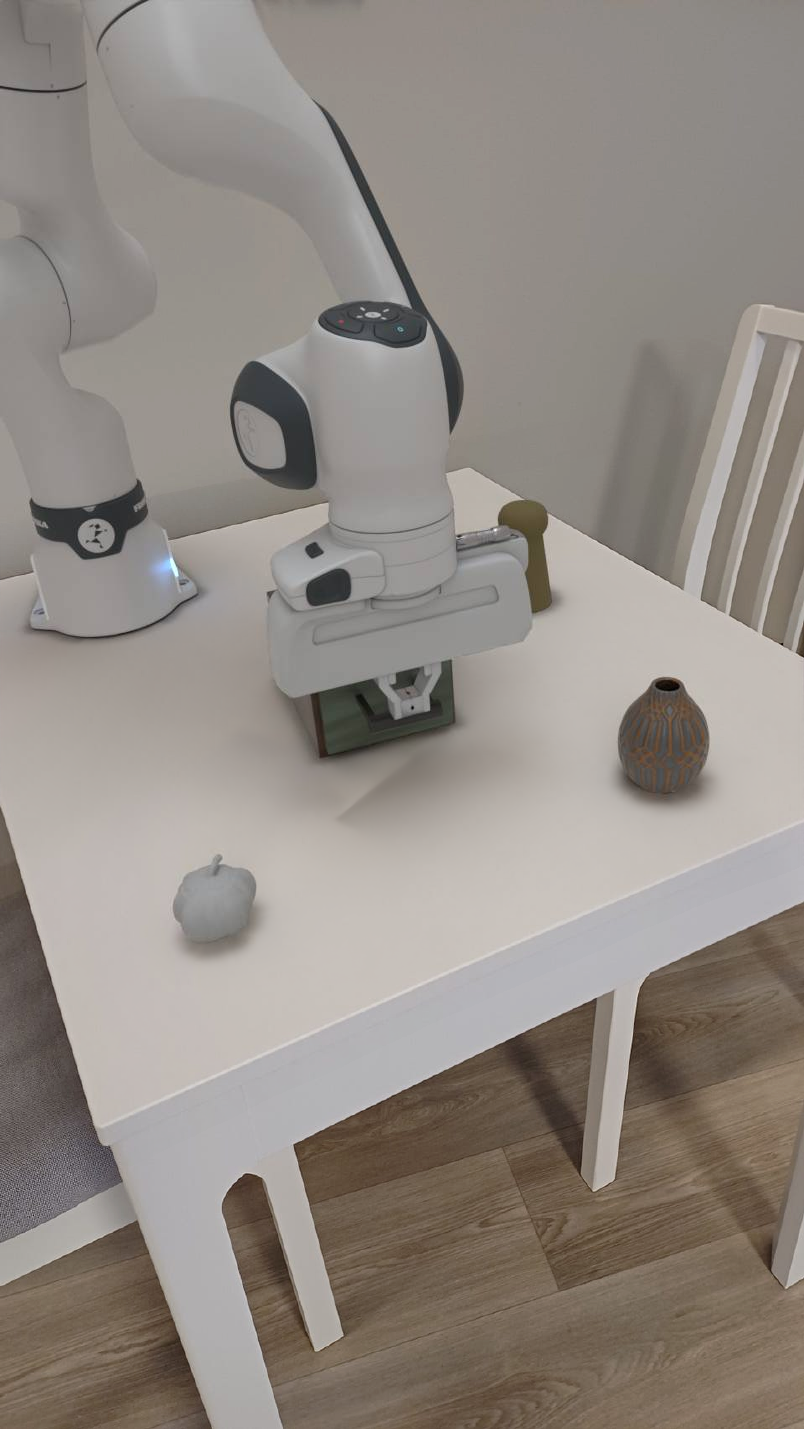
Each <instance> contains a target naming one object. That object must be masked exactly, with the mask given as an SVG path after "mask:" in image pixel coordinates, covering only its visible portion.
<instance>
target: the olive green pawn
mask: <svg viewBox="0 0 804 1429" xmlns="http://www.w3.org/2000/svg"><path fill="white" fill-rule="evenodd" d="M501 525H506V526H508V527H509V528H510V529H515V530H517V531H519V532H521V533H522V534H523V535H524V536H525V538H526V540H527V543H528V567H527V570H526V572H525V577H526V581H527V585H528V590H529V596H530V602H531V611H532V613H538V612H541V611H543V610H545V609H547V608H548V607H549V606H551V604H552V603H553V598H552V591H551V582H550V578H549V576H550V575H549V570H548V561H547V555H546V548H545V541H544V534H545V532H546V531H547V529H548V526H549V515H548V511H547V508H546V507H545V505H544V504H542V503H541V502H538V501H536V500H532V499H518V500H513V501H510V502H507V503H506V504H504V505H503V506H502V507H501V509H500V510H499V511H498V515H497V526H501ZM511 536H515V535H511ZM511 536H510V537H511Z"/></svg>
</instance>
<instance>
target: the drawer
mask: <svg viewBox="0 0 804 1429" xmlns="http://www.w3.org/2000/svg"><path fill="white" fill-rule="evenodd" d="M419 671H420V668H419V667H418V668H414V669H410V670H406V671H402V672H398V673H395V674H396V683H395V684H392V685H391V686H392V687H393V689H394V690H397V689H401V688H406V687H409V686H413V685H414V683H415V680H416V678H417V675H418V673H419ZM441 672H442V673H441V674H440V676H439V678H438V680H437V682H436V684H435V686H434V688H433V690H432V691H431V693H429V698H430V711H427V712H423V713H419V714H415V715H412V716H408V717H404V718H400V719H397V720H395V719H394V718H393V716H392V715H391V713H390V711H389V707H388V698H387V696H386V695H385V694H384V693H383V691H382V690H381V689H380V688H379V687H378V685H377V684H376V682H375V681H374V679H369V680H365V681H361V682H357V683H353V684H349V685H345V686H341V687H337V688H333V689H328V690H324V691H320V692H317V693H318V700H319V707H320V714H321V721H322V728H323V735H324V742H325V748H326V750H327V752H328V754H333V755H335V754H334V753H337V752H341V751H345V750H349V749H352V750H354V749H353V748H356V749H358V748H357V747H360V748H362V747H361V746H364V747H366V746H365V745H368V744H372V743H376V742H380V741H383V742H385V741H384V740H387V741H389V740H388V739H391V740H393V739H392V738H395V737H399V736H403V735H407V734H410V735H412V734H411V733H414V734H416V733H415V732H418V733H420V732H419V731H422V732H424V731H423V730H426V729H430V728H434V727H438V726H441V727H443V726H442V725H445V726H447V725H446V724H449V725H451V724H450V723H453V722H454V721H453V704H452V687H451V671H450V660H446V661H442V662H441ZM453 724H454V723H453ZM438 728H439V727H438ZM434 729H435V728H434ZM430 730H431V729H430ZM426 731H427V730H426ZM407 736H408V735H407ZM403 737H404V736H403ZM399 738H400V737H399ZM395 739H396V738H395ZM380 743H381V742H380ZM376 744H377V743H376ZM372 745H373V744H372ZM368 746H369V745H368ZM349 751H350V750H349ZM345 752H346V751H345ZM341 753H342V752H341ZM337 754H338V753H337Z"/></svg>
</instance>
